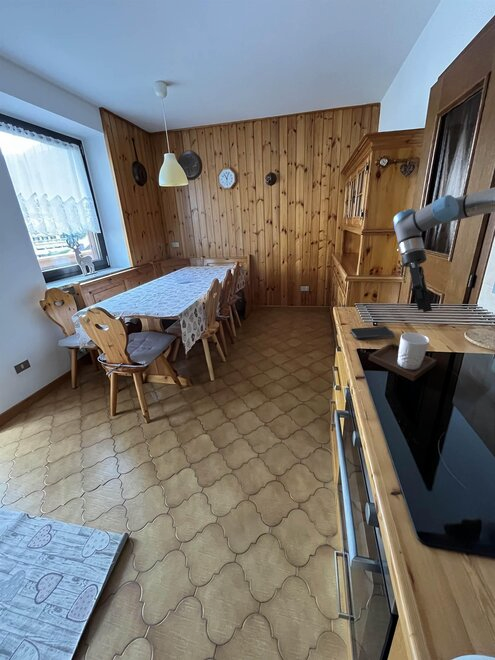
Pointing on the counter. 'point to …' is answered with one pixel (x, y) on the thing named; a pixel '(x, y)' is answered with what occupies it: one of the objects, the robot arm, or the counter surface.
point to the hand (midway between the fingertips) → (425, 310)
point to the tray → (389, 359)
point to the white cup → (412, 350)
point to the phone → (372, 333)
